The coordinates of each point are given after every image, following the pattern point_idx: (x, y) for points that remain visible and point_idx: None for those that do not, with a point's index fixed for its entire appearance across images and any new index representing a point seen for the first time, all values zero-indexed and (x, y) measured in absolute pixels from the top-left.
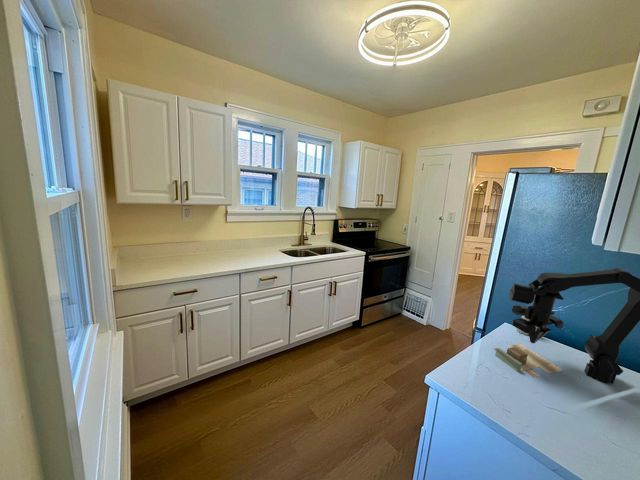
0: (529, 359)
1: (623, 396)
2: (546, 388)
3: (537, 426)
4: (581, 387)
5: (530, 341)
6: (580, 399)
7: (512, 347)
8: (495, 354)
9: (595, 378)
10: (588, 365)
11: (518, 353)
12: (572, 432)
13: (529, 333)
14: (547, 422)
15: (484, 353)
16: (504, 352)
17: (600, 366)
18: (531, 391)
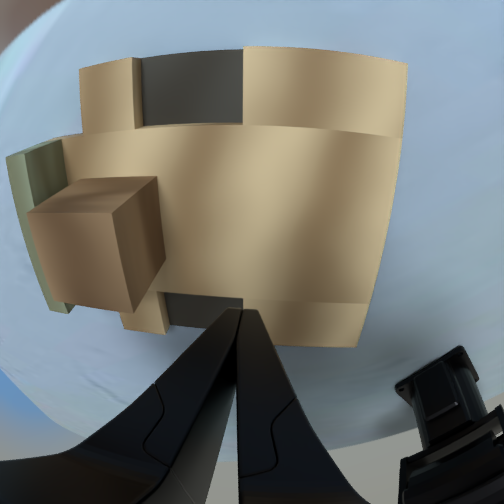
0: (252, 233)
1: (401, 423)
2: (153, 357)
3: (36, 381)
4: (319, 392)
5: (225, 313)
6: (235, 410)
7: (66, 214)
8: (38, 144)
9: (413, 400)
10: (440, 411)
11: (65, 283)
12: (98, 417)
13: (142, 406)
14: (61, 389)
15: (32, 91)
16: (27, 204)
17: (400, 475)
18: (82, 341)
